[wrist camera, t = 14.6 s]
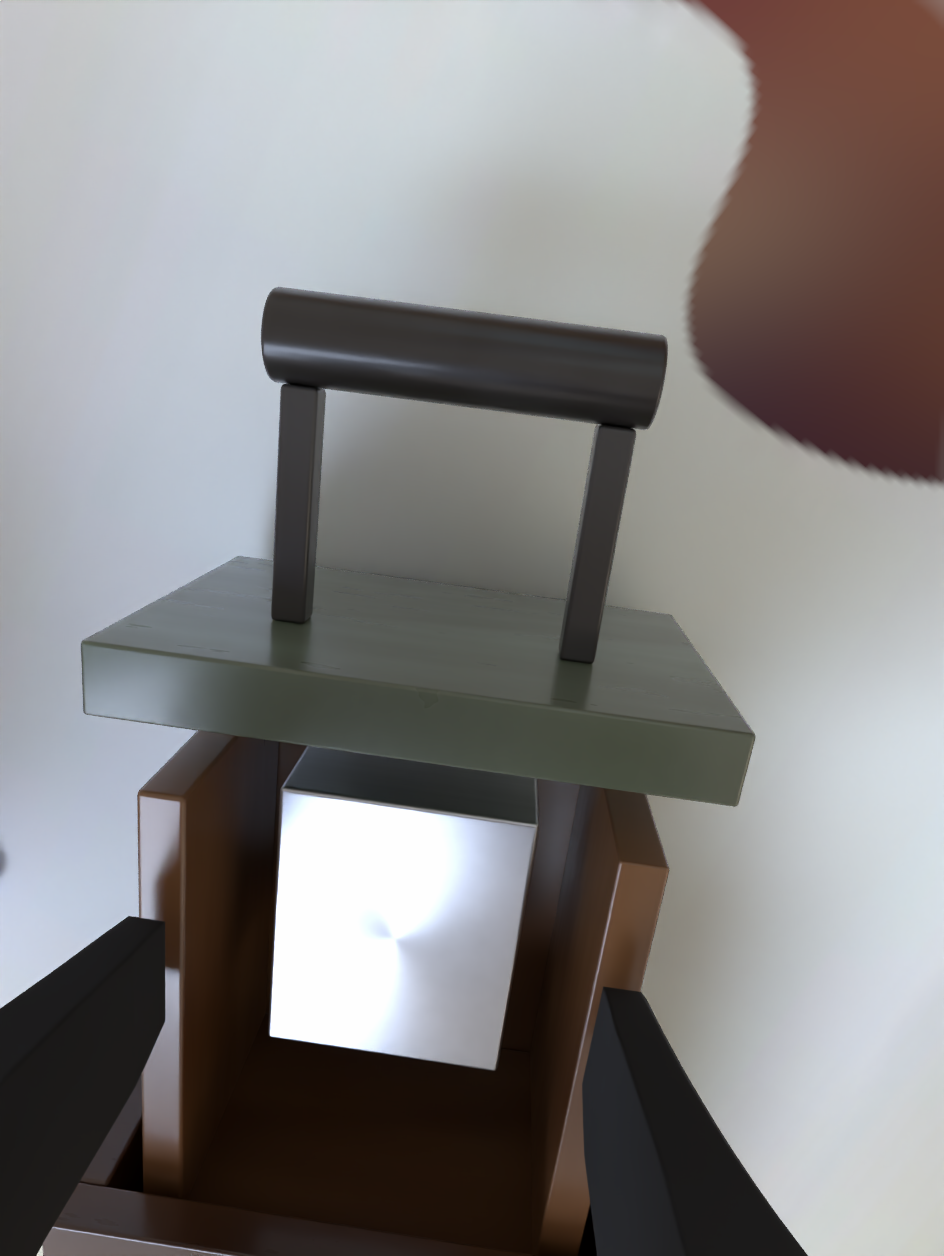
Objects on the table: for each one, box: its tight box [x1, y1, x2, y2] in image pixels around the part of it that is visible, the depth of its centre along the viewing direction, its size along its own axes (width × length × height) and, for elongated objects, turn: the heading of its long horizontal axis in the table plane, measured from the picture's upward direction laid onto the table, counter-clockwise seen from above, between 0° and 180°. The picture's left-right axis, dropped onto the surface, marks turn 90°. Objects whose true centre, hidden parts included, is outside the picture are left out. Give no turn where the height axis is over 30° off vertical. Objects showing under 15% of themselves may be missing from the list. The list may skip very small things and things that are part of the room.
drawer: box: [81, 287, 756, 1256], centre depth 15 cm, size 18×10×6 cm, turn 173°
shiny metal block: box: [268, 746, 539, 1071], centre depth 15 cm, size 6×4×4 cm
